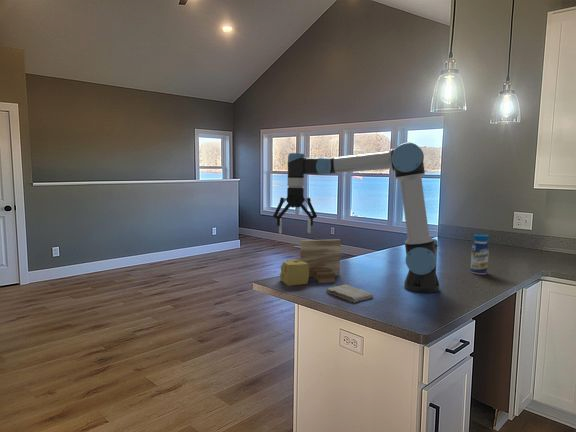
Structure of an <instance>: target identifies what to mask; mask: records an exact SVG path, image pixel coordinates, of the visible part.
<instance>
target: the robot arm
mask: <svg viewBox="0 0 576 432" xmlns="http://www.w3.org/2000/svg"><path fill="white" fill-rule="evenodd" d="M424 159H425V155H424V152H423V150H422V148H421V147H419V145H417V144H416V143H413V142H404V143H401V144H399V145H397V146H396V147H395V148H391V149H390V150H389V151H381V152H372V153H362V154H355V155H354V154H351V155H344V156H333V157H332V156H331V157H323V156H322V157H305V154H304V153H303V152H290V153H288V156H287V185H286V186H287V189H286V191H287V192H286V193H287V194H286V197H280V198H279V203H278V205H277V207H276V209H275V211H274V213H273V214H272V217H273V218H274V219H276V226H277V227H278V233H279V234H281V235H282V233H283V232H282V230H283V229H282V228H283V227H282V225H283V223H282V221H283V220H282V217H283V216H284V215H285V214H286V212H287V211H288V210H289V209H290V208H301V209H302V211H304V213H305V214H306V216H308V218H307V233H308V234H311V229H312V228H311V227H312V226H313V224H314V219H315V218H317V217H318V215H317V213H316V211H315V208H314V207H313V205H312V202H311V197H304V196H305V195H304V194H305V193H304V190H305V188H304V186H305V175H318V176H319V175H320V176H325V175H330V174H341V173H353V172H354V173H355V172H364V171H365V172H366V171H374V170H375V171H378V170H387V169H390V170H392V171H394V174H395V175H394V176H395V179H397V180H398V181H399V183H400V191H401V196H402V197H401V198H402V205H403V212H404V219H405V220H404V221H405V227H406V234H407V239H405V241H404V248H405V249H404V250H405V264H406V266H407V269H408V272H407V274H406V277H405V279H404V283H403V284H404V286H403V287H404V289H406V290H408V291H409V292H410V291H411V292H415V293H422V294H423V293H424V294H433V293H438V292H439V291H440V282H439V278H438V275H437V261H438V260H437V259H438V247H439V244H438V243H439V242H438V240H437V239H436V238H432V236H430V233H429V224H428V218H427V216H428V215H427V209H426V201H425V194H424V188H423V180H422V179H423V177H424V175H426V173H425V171H426V170H425V164H424ZM285 202H286V203H287V204H286V205H285V207H284V208H283V209H282V210H281V208H282V206H283V204H285ZM304 202H306V204H307V206H308V208H309V210H308V209H307V208H306V207H305V205H304V204H303V203H304ZM280 210H281V211H280ZM310 212H311V213H310Z"/></svg>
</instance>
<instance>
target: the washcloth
mask: <svg viewBox="0 0 576 432" xmlns="http://www.w3.org/2000/svg"><path fill="white" fill-rule="evenodd" d="M325 292H326V293H327V294H329V295H331V294H332V295H331V296H333V295H334V297H336V296H338V297H337V298H339V297H340V298H339V299H341V298H343V299H342V300H344V299H346V300H345V301H347V300H349V301H350V303H352V302H353V304H355V303H359V301H360V302H361V301H362V300H363V301H367V300H371V299H373V298H374V295H373V294H372V293H371V292H368V291H365V290H363V289H360V288H357V287H354V286H352V285H349V284H341V285H339V286H330V287H326V291H325ZM349 301H348V302H349Z"/></svg>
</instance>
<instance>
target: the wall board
mask: <svg viewBox="0 0 576 432" xmlns="http://www.w3.org/2000/svg"><path fill="white" fill-rule="evenodd" d="M299 247H300V249H299V250H300V253H299V255H300V256H299V257H300V260H302V261H303V262H306V263H307V264H308V267H309V277H312V278H313V279H314V280H315V281H316V282H317V283H319V284H324V283H325V284H326V283H336V276H341V275H340V273H341V272H340V271H341V270H340V268H341V266H340V265H341V239H306V240H305V239H303V240H300V246H299Z"/></svg>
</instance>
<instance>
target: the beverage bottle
mask: <svg viewBox="0 0 576 432" xmlns="http://www.w3.org/2000/svg"><path fill="white" fill-rule="evenodd" d="M488 241H489V235H488V234H482V233H475V234H474V235H473V242H474V243H472V245H471V251H470V254H471V255H470V256H471V257H470V269H469V270H470V273H471V274H475V275H487V274H488V266H489V255H490V252H489V250H490V247H489V245H488Z"/></svg>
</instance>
